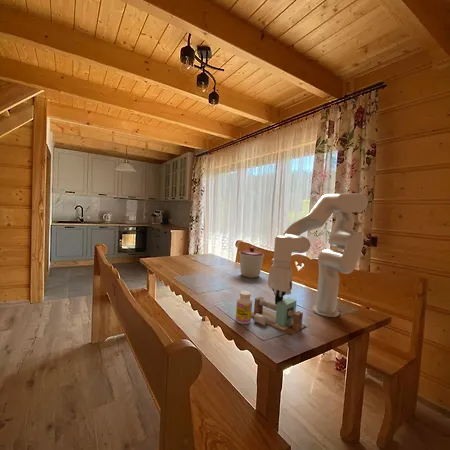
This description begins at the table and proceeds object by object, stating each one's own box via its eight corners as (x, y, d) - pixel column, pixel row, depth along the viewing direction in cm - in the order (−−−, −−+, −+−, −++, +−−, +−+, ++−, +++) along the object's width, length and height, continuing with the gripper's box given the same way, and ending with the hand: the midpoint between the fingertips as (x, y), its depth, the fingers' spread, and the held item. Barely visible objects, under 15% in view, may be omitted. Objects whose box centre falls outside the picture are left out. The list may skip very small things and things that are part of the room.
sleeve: (255, 323, 115) (259, 316, 116) (264, 327, 111) (268, 320, 113) (252, 318, 113) (256, 311, 114) (261, 322, 109) (266, 315, 111)
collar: (286, 317, 117) (288, 297, 116) (294, 320, 114) (296, 300, 114) (275, 322, 111) (277, 302, 110) (283, 326, 108) (285, 305, 107)
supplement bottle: (233, 322, 112) (235, 293, 111) (238, 316, 118) (240, 289, 117) (248, 325, 110) (250, 296, 108) (252, 319, 116) (254, 291, 115)
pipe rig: (263, 308, 128) (264, 293, 128) (305, 326, 112) (307, 309, 112) (247, 315, 120) (248, 299, 119) (291, 335, 104) (293, 317, 103)
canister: (256, 272, 197) (258, 244, 195) (267, 279, 180) (269, 249, 178) (233, 272, 191) (235, 244, 190) (243, 280, 174) (245, 249, 173)
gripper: (262, 261, 116) (259, 300, 118) (292, 268, 105) (288, 312, 107) (272, 259, 121) (269, 297, 123) (301, 266, 111) (297, 307, 112)
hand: (278, 304), depth 115 cm, fingers closed
